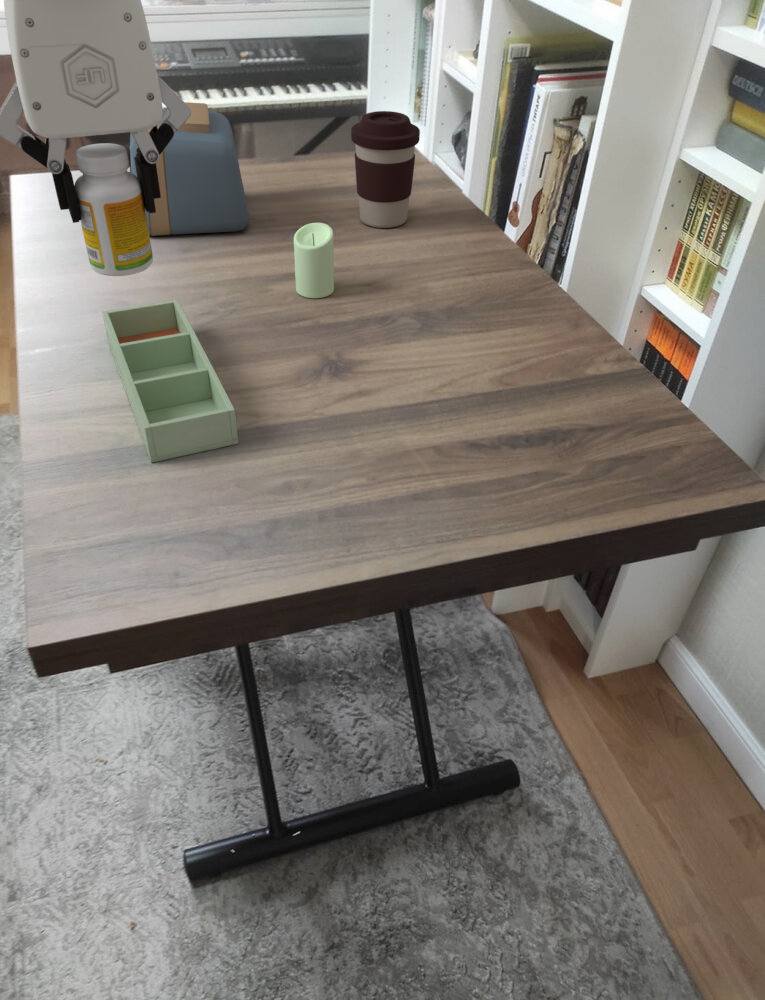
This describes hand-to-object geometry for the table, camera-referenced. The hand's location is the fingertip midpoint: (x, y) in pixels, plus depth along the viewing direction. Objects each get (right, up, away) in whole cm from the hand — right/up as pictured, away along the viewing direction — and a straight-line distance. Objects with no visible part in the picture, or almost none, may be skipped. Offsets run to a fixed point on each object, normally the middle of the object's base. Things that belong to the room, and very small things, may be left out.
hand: (112, 209), depth 70 cm
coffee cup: (+23, +19, +59) cm, 66 cm away
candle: (+14, +3, +40) cm, 42 cm away
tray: (-1, -12, +20) cm, 24 cm away
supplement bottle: (0, -4, +3) cm, 5 cm away
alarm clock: (-6, +19, +58) cm, 61 cm away
